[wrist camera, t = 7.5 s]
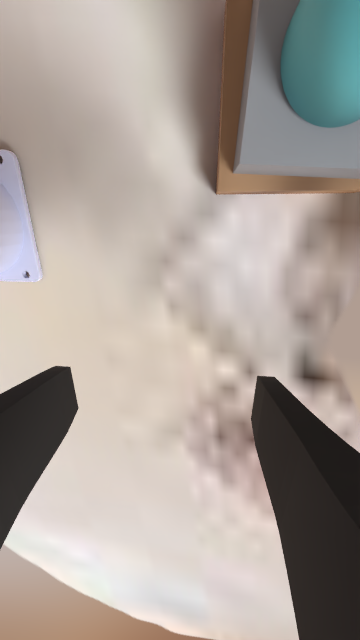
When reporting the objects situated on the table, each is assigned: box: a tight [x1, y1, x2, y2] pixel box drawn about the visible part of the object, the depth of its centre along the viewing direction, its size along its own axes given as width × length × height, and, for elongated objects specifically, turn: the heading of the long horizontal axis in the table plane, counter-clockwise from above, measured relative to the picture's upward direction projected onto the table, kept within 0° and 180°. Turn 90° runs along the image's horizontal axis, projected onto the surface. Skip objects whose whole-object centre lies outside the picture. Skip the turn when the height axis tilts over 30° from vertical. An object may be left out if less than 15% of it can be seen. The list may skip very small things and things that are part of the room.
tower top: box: [233, 0, 360, 179], centre depth 10 cm, size 6×6×2 cm
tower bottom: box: [216, 0, 360, 194], centre depth 13 cm, size 8×8×2 cm
